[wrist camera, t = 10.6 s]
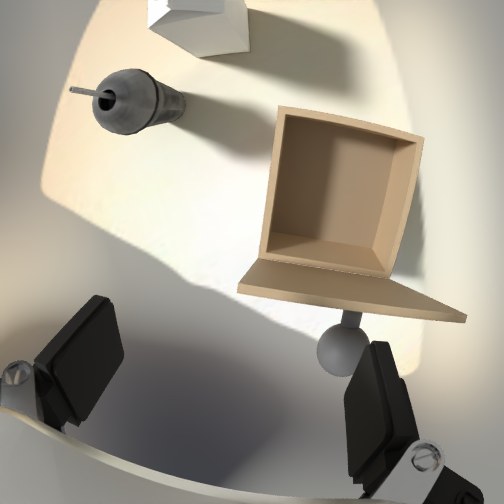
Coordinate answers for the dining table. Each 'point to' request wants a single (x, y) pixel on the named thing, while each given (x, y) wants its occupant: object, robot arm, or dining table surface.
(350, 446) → the robot arm
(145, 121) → the beverage cup
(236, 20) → the milk carton
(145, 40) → the dining table surface
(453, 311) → the flap
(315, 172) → the light brown open box
